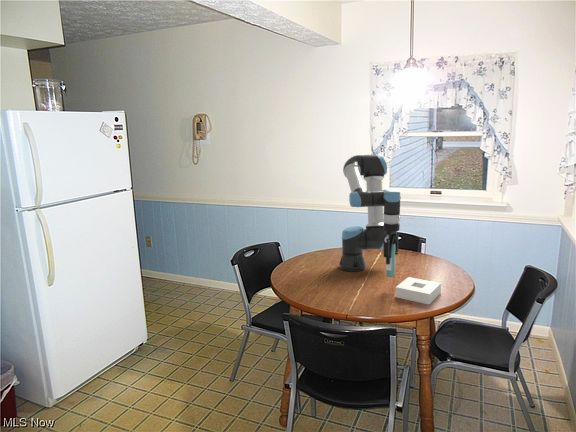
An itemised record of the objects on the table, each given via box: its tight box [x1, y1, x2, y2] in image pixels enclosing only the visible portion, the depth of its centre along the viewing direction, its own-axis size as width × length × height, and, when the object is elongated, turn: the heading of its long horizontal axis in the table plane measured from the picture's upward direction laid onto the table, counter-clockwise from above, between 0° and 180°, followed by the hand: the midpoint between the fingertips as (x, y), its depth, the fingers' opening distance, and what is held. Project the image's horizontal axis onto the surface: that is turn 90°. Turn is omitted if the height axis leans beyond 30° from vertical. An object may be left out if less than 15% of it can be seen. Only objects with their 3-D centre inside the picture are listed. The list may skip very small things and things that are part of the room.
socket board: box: [394, 276, 442, 305], centre depth 201 cm, size 16×16×5 cm
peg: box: [385, 244, 396, 278], centre depth 207 cm, size 4×4×16 cm
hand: (390, 268), depth 208 cm, fingers closed on peg, 4 cm apart
